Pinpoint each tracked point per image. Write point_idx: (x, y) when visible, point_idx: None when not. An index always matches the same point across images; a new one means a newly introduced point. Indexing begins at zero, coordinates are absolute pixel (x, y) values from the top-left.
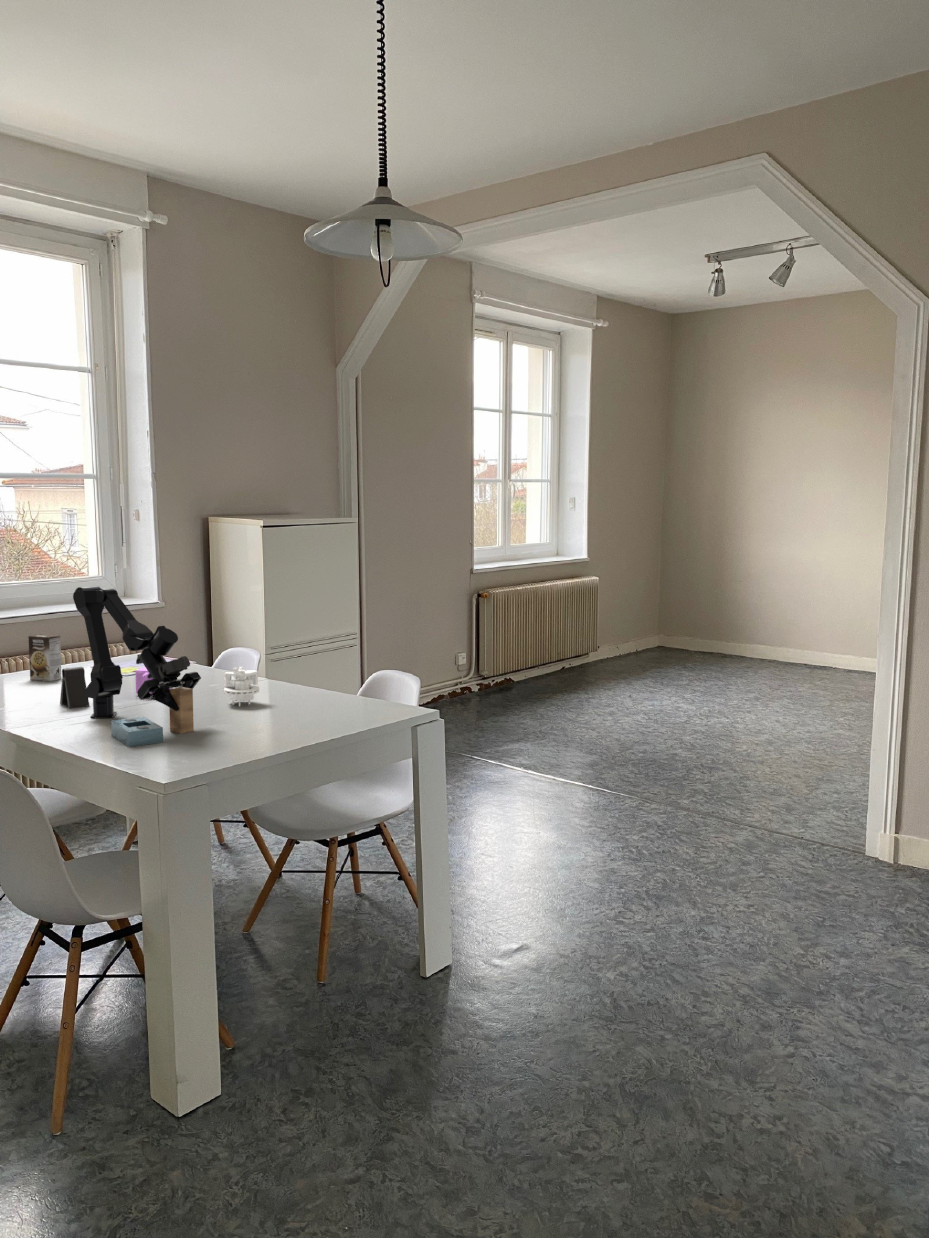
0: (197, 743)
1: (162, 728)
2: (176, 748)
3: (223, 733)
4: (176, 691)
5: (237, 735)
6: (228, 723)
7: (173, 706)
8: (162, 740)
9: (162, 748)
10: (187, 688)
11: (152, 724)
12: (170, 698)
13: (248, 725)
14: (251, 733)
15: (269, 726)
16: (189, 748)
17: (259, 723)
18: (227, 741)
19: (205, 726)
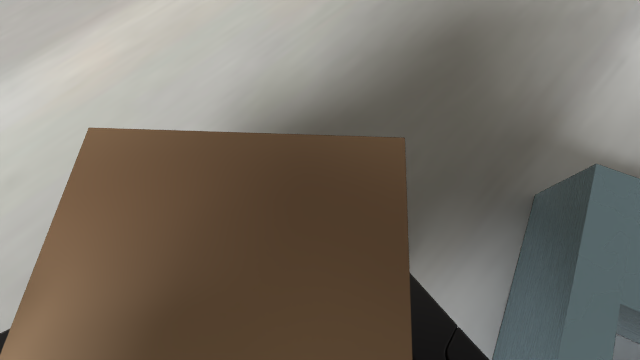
0: (439, 64)
1: (593, 167)
2: (552, 72)
3: (252, 95)
4: (403, 250)
5: (255, 36)
6: None
7: None
8: (544, 193)
9: (601, 115)
10: (90, 230)
11: (608, 300)
12: (460, 334)
13: (84, 108)
14: (206, 20)
15: (80, 38)
16: (513, 37)
17: (37, 97)
18: (347, 7)
19: None
